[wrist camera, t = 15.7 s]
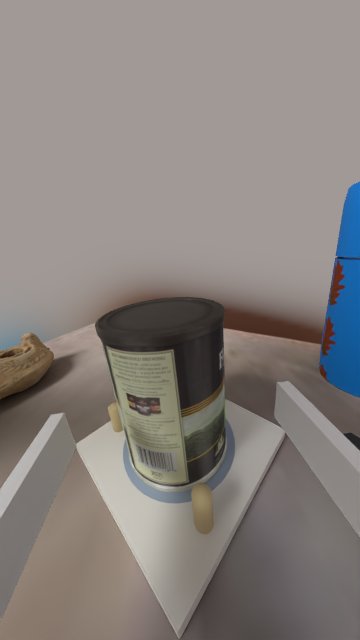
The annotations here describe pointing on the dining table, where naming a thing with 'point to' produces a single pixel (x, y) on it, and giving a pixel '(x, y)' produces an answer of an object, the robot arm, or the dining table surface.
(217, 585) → the dining table surface
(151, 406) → the coffee can
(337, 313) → the thermos
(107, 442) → the pin jig
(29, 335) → the oil lamp
